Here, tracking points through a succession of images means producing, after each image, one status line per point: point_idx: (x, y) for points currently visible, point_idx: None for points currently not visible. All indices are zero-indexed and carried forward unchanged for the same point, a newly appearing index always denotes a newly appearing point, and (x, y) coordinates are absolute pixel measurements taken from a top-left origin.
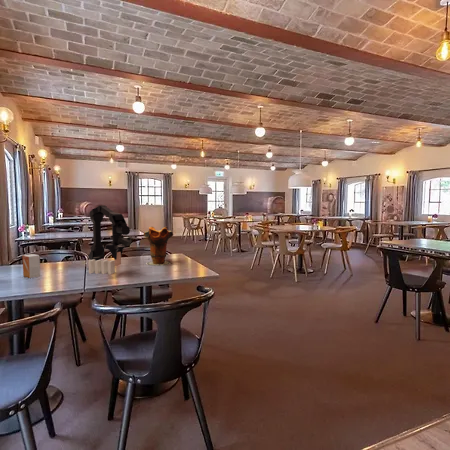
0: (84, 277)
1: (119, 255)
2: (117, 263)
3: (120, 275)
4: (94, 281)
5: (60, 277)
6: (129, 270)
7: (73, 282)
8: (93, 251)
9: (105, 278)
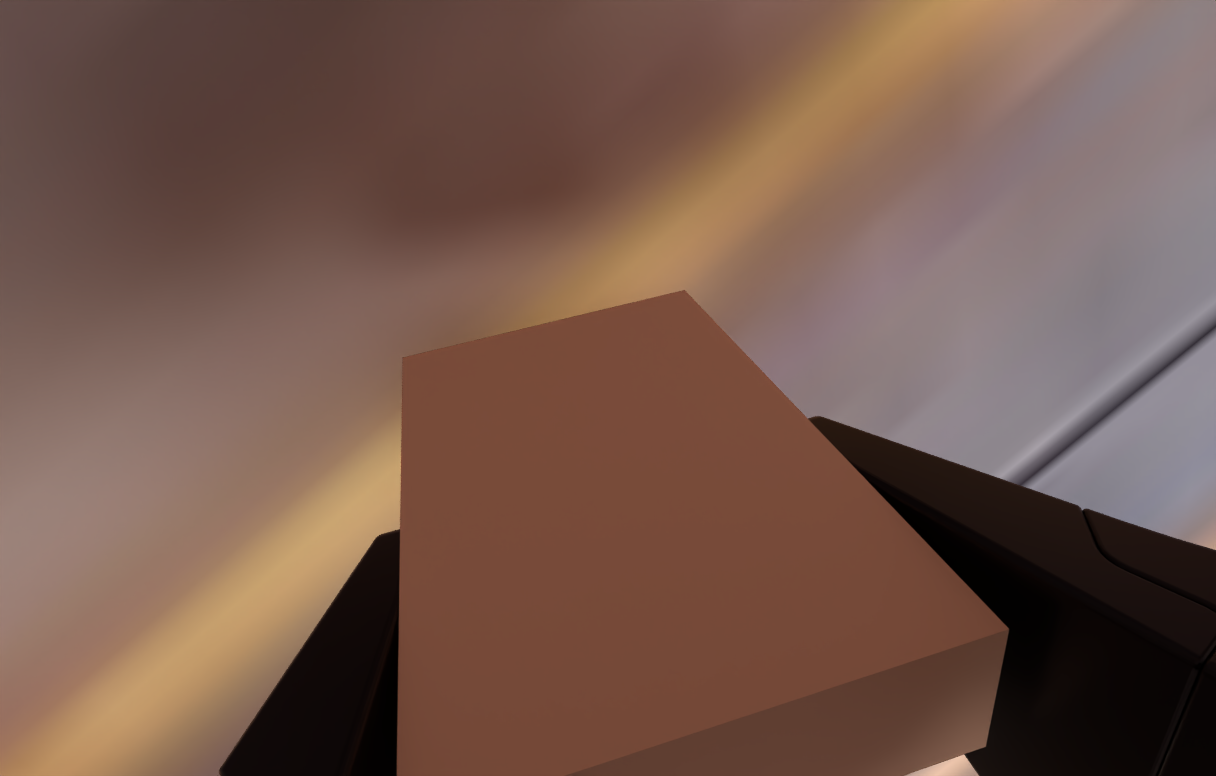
0: None
1: (568, 570)
2: (677, 327)
3: (651, 69)
4: (1176, 225)
5: (954, 763)
6: (18, 257)
7: (1200, 459)
8: None
9: (966, 203)
